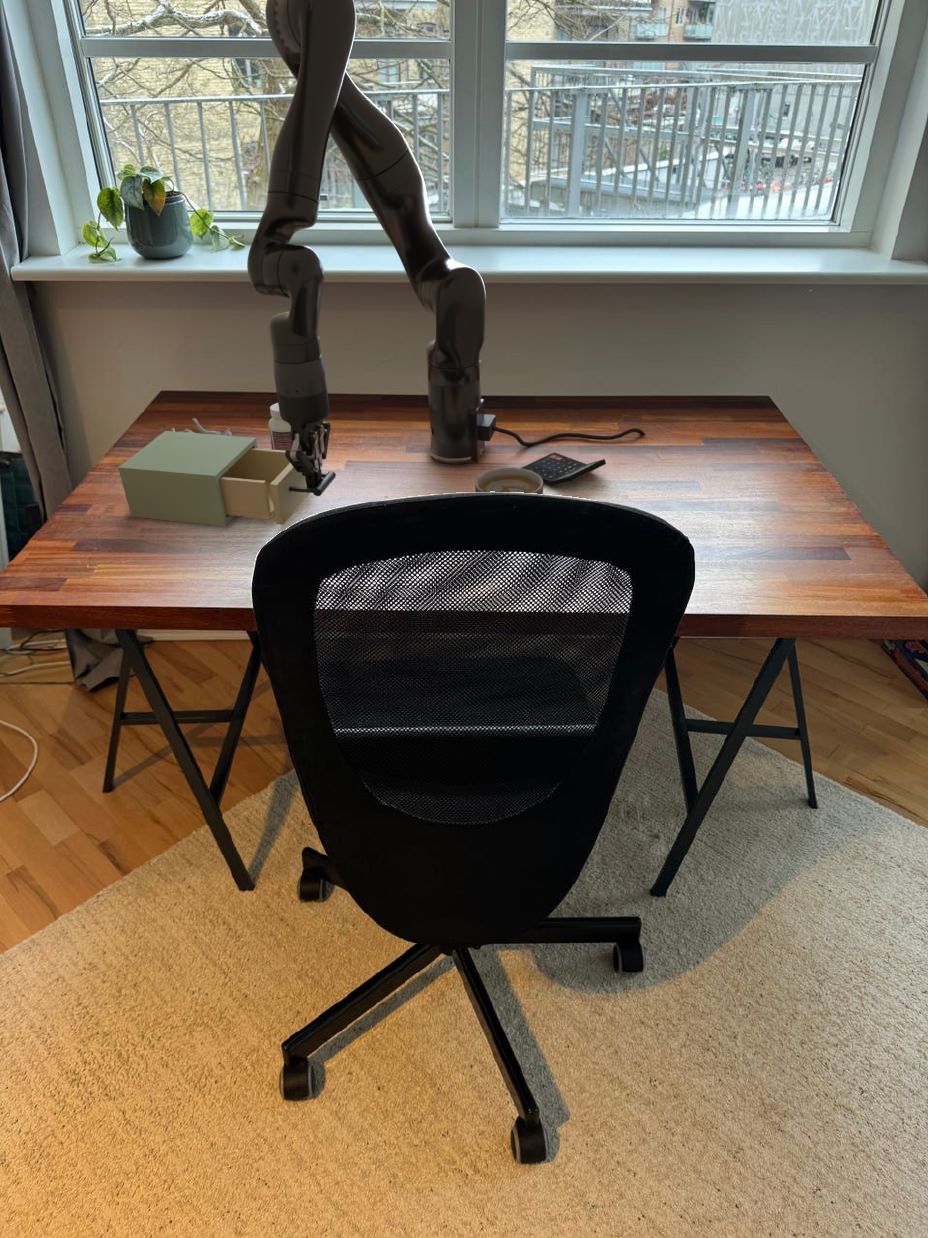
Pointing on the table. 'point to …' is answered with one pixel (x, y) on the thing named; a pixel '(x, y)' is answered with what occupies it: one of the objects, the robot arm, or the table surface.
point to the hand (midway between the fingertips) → (315, 490)
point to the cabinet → (182, 476)
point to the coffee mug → (509, 481)
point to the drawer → (266, 486)
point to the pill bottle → (279, 430)
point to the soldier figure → (227, 432)
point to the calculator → (561, 468)
